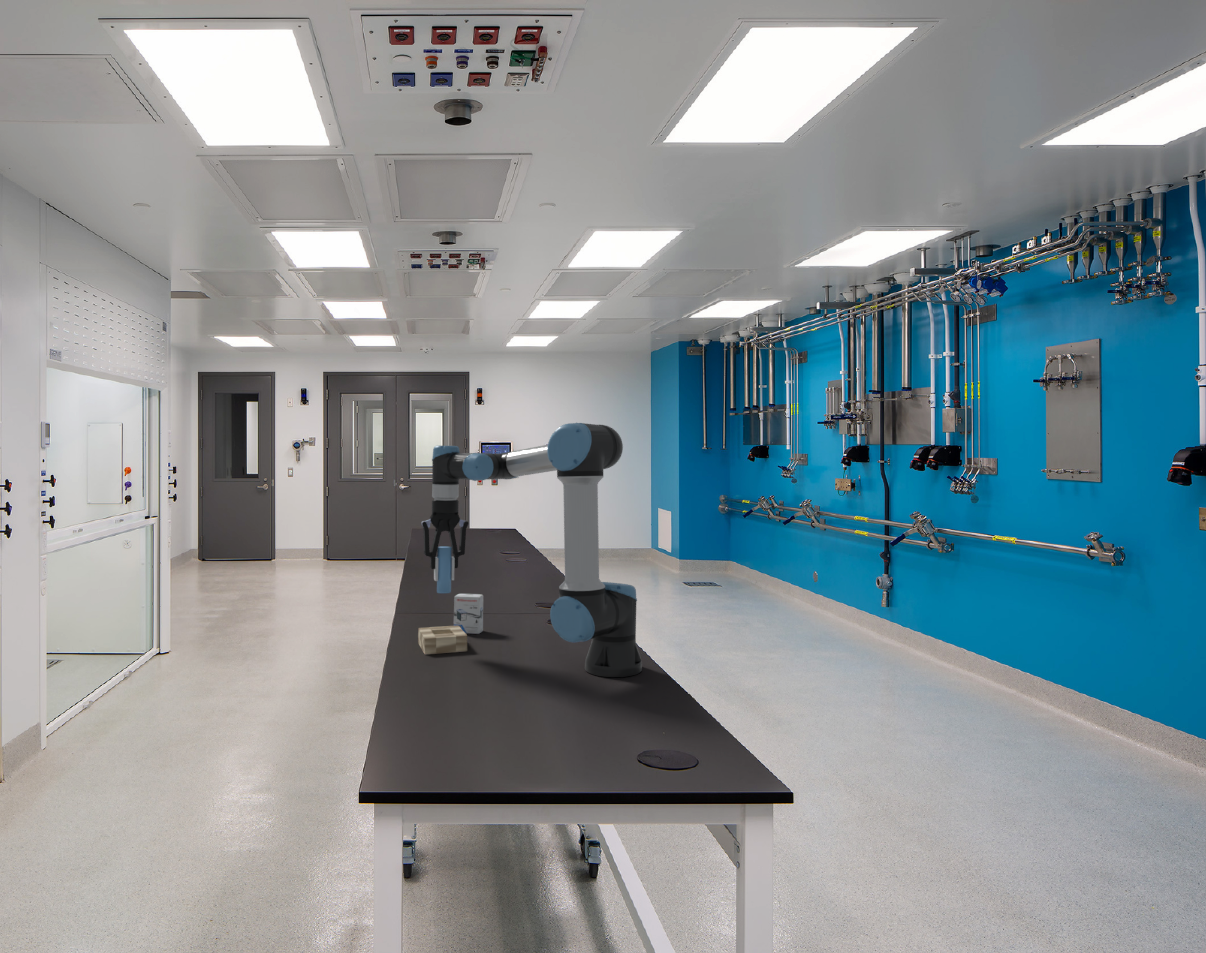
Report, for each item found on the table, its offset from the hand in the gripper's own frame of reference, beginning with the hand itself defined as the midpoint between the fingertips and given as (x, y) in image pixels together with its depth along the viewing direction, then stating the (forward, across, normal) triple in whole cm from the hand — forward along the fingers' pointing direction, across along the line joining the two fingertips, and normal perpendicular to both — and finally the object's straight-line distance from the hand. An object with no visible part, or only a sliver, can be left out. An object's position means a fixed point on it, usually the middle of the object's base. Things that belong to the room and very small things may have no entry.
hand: (444, 579), depth 223 cm
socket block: (+20, 0, -3) cm, 21 cm away
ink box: (+21, -12, -20) cm, 31 cm away
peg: (+4, 0, 0) cm, 4 cm away
